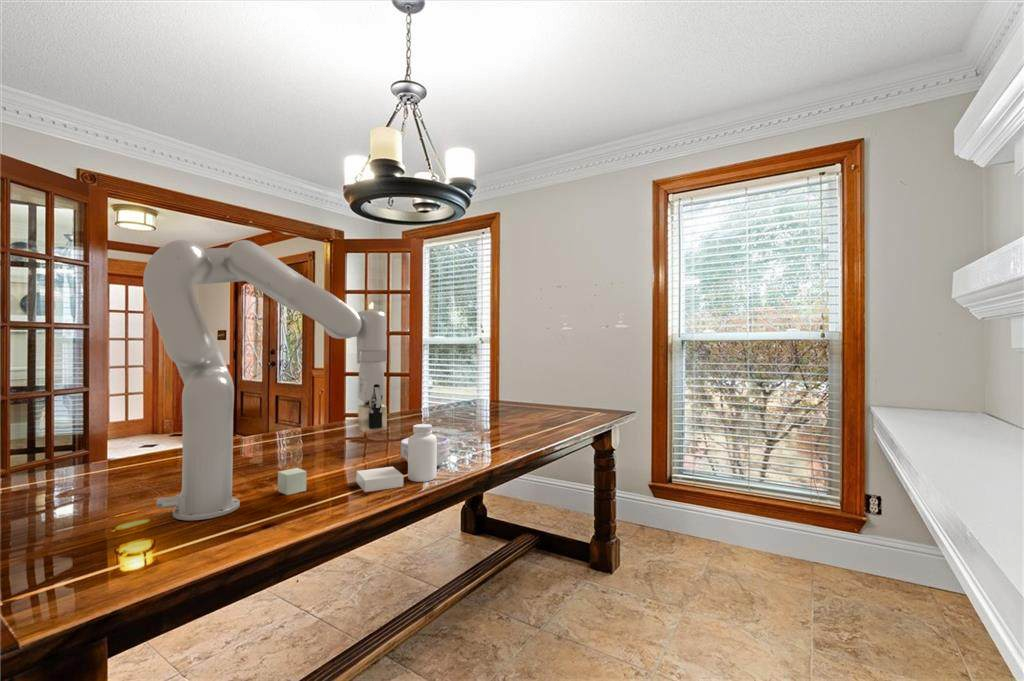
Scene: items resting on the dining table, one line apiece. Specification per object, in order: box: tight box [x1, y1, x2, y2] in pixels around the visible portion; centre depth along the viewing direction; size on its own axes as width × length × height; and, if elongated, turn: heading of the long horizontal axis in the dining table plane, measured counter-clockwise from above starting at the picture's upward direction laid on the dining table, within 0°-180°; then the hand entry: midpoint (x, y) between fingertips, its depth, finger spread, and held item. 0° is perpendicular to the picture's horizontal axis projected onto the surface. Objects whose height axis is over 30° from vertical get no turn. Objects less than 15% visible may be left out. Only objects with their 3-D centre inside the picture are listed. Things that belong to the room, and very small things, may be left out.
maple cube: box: [357, 403, 388, 433], centre depth 125 cm, size 6×6×6 cm
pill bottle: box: [407, 423, 438, 483], centre depth 134 cm, size 8×8×15 cm
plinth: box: [355, 466, 404, 493], centre depth 128 cm, size 10×10×3 cm
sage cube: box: [277, 467, 308, 496], centre depth 121 cm, size 5×5×5 cm
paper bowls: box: [400, 435, 451, 467], centre depth 149 cm, size 15×15×8 cm
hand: (372, 425), depth 125 cm, fingers closed on maple cube, 6 cm apart
